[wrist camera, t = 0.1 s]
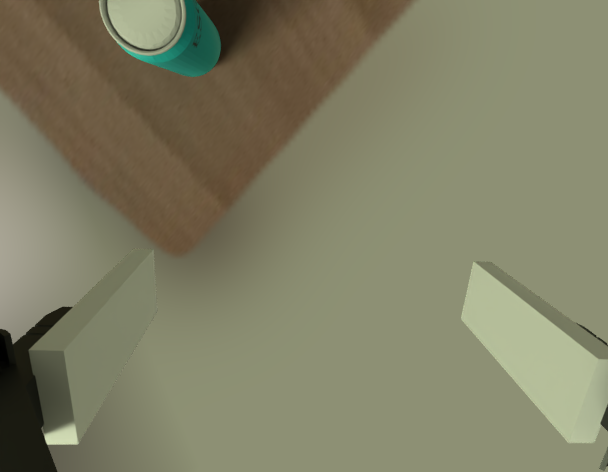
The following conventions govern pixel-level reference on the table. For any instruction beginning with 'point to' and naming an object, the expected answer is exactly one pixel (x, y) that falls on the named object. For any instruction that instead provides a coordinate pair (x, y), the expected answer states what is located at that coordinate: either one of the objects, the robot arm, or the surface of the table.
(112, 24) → the beverage can
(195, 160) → the table surface
